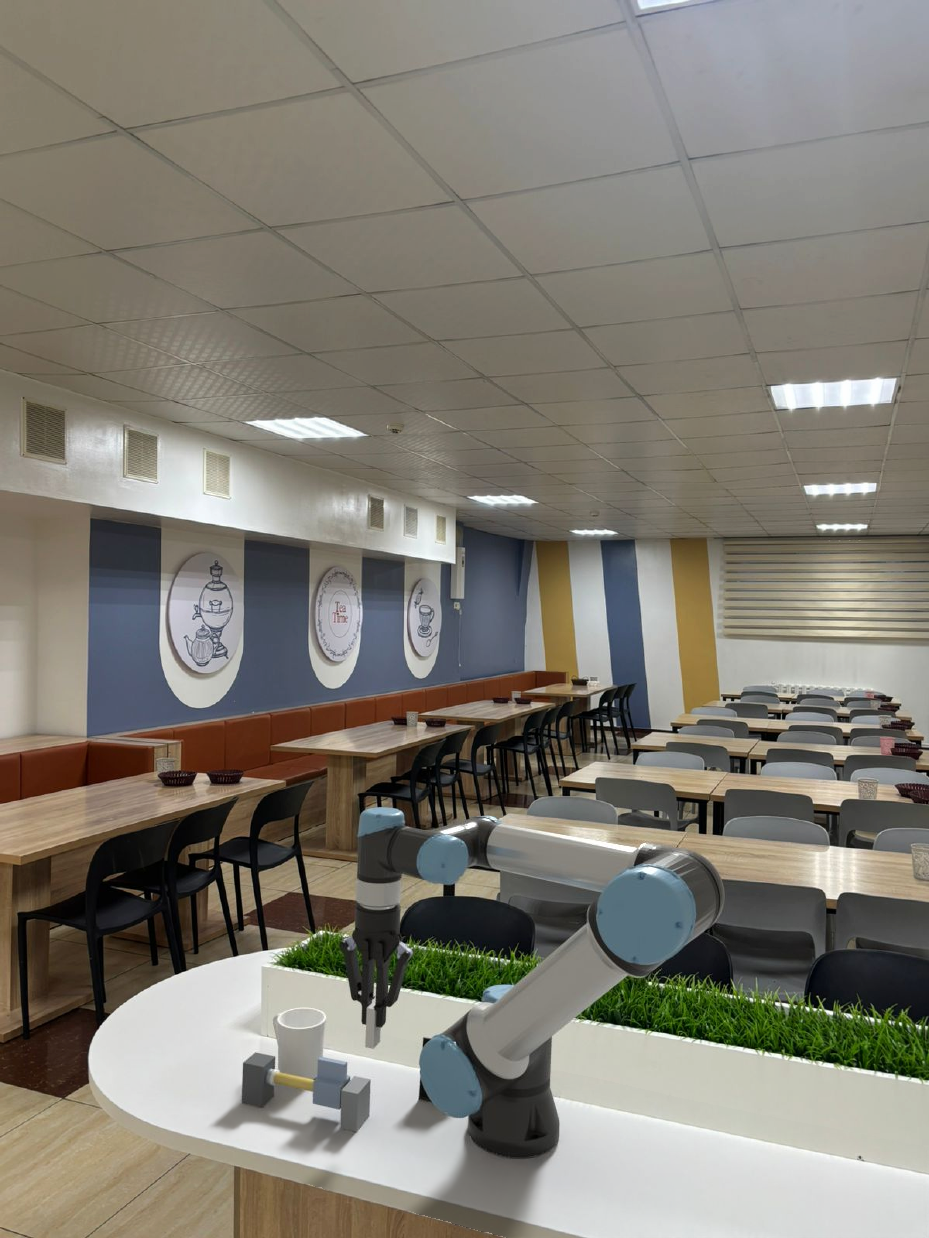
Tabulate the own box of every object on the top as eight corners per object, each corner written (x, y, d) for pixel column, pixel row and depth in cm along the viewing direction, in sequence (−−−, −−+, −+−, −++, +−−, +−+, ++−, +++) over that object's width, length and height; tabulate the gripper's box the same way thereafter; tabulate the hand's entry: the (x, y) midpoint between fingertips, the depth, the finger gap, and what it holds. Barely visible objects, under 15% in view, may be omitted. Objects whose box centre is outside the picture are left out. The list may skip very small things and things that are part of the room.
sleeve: (349, 1098, 151) (350, 1058, 151) (339, 1109, 148) (340, 1068, 148) (323, 1092, 153) (324, 1052, 153) (312, 1103, 149) (313, 1062, 149)
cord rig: (369, 1115, 151) (370, 1074, 151) (356, 1131, 146) (358, 1088, 146) (255, 1090, 158) (256, 1050, 158) (239, 1104, 153) (241, 1063, 153)
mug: (334, 1069, 166) (335, 1014, 166) (304, 1091, 158) (306, 1033, 158) (287, 1054, 171) (289, 1001, 171) (256, 1074, 163) (258, 1018, 163)
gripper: (422, 901, 150) (417, 1041, 150) (352, 891, 154) (347, 1027, 154) (406, 915, 143) (400, 1062, 143) (332, 903, 147) (327, 1046, 147)
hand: (372, 1044), depth 148 cm, fingers closed
